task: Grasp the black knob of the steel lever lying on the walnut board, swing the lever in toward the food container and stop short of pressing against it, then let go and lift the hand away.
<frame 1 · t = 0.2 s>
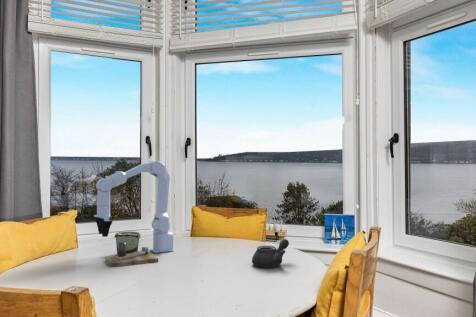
hand: (103, 235, 174), 10 cm above the table, tool pointing down, fingers open, 7 cm apart
food container: (129, 254, 182), on the table
teapot: (273, 265, 165), on the table
walnut board: (131, 261, 168), on the table
lever: (133, 248, 170), point 5 cm above the table, hinge at 28.0°
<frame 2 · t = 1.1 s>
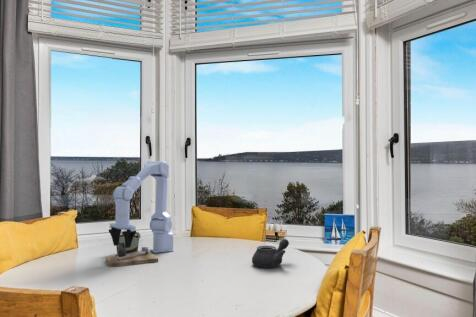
hand: (122, 246, 165), 7 cm above the table, tool pointing down, fingers open, 7 cm apart
nothing on the table moved.
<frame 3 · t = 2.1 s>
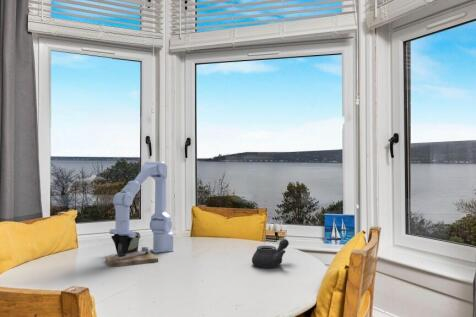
hand: (122, 252, 165), 4 cm above the table, tool pointing down, fingers closed on lever, 3 cm apart
lever: (133, 248, 170), point 5 cm above the table, hinge at 28.0°, touching gripper
everything else where it was.
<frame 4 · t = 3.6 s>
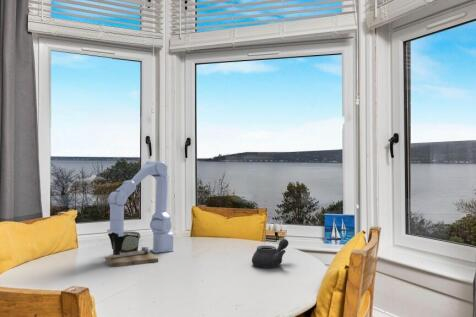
hand: (116, 250, 169), 4 cm above the table, tool pointing down, fingers open, 5 cm apart
lever: (130, 247, 172), point 5 cm above the table, hinge at 8.6°, touching gripper
everything else where it was.
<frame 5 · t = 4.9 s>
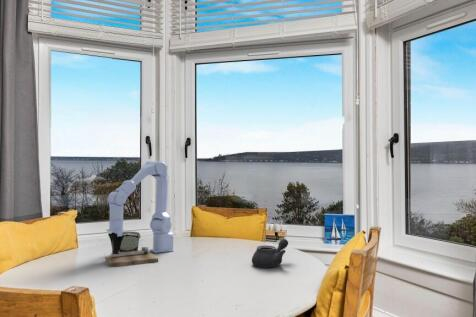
hand: (115, 250, 169), 4 cm above the table, tool pointing down, fingers closed on lever, 3 cm apart
lever: (130, 246, 172), point 5 cm above the table, hinge at 2.3°, touching gripper
everything else where it was.
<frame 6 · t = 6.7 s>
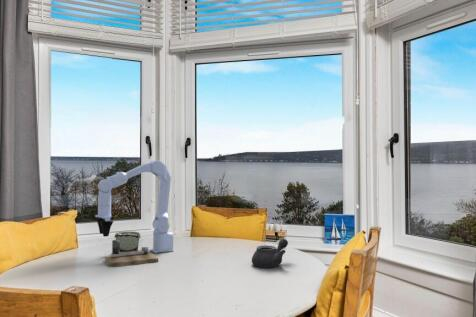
hand: (104, 234, 178), 9 cm above the table, tool pointing down, fingers open, 7 cm apart
lever: (130, 246, 172), point 5 cm above the table, hinge at 2.3°
everything else where it was.
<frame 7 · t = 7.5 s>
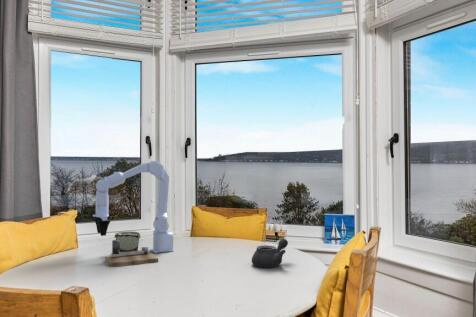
hand: (101, 234, 180), 9 cm above the table, tool pointing down, fingers open, 7 cm apart
nothing on the table moved.
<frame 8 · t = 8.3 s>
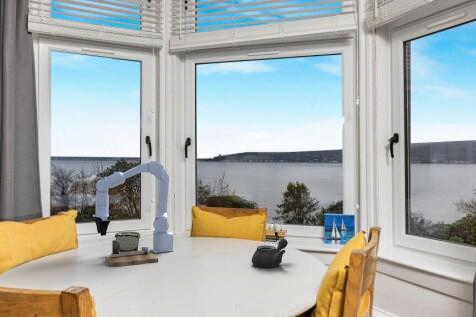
hand: (101, 234, 180), 9 cm above the table, tool pointing down, fingers open, 7 cm apart
nothing on the table moved.
at the end: lever at +2° (first picture: +28°); food container moved 0.2 cm from its start; the gripper is holding nothing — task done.
